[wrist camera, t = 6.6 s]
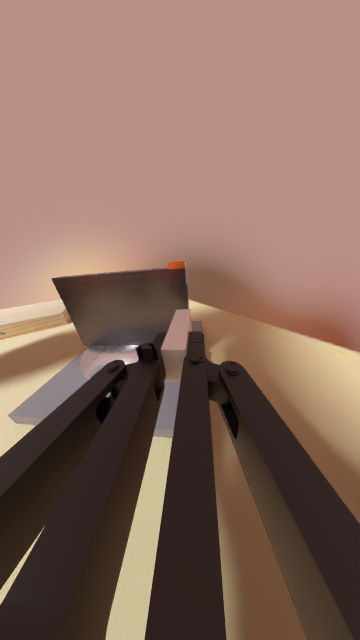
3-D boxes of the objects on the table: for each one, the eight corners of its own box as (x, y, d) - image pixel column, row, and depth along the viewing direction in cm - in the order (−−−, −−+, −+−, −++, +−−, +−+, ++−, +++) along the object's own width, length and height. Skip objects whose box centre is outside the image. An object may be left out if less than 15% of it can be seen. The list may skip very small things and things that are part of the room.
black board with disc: (49, 391, 17) (-33, 283, 11) (116, 329, 31) (95, 267, 26) (188, 398, 15) (176, 264, 9) (192, 327, 29) (188, 258, 23)
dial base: (16, 423, 15) (6, 414, 15) (117, 328, 35) (115, 323, 34) (211, 441, 12) (211, 431, 12) (202, 327, 32) (202, 320, 31)
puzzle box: (69, 326, 41) (81, 305, 61) (61, 312, 39) (77, 295, 59) (-138, 375, 28) (-36, 328, 48) (-165, 358, 26) (-47, 316, 46)
